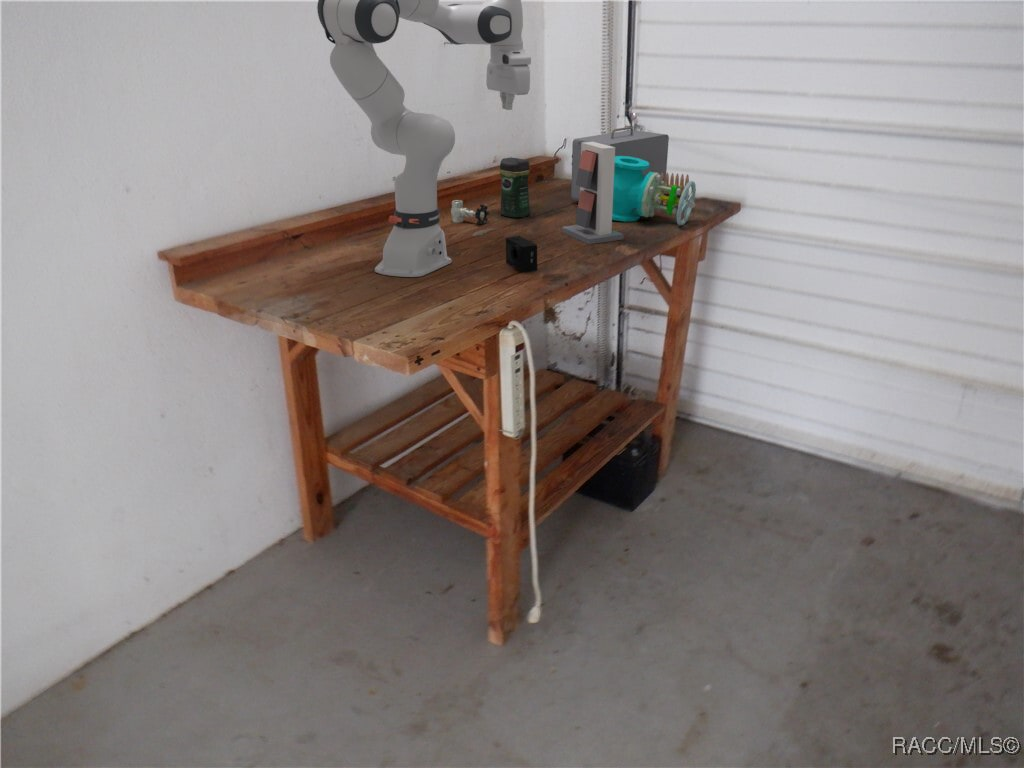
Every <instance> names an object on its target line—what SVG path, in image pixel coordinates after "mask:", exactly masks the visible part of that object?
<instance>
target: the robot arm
mask: <svg viewBox="0 0 1024 768" xmlns="http://www.w3.org/2000/svg"><path fill="white" fill-rule="evenodd" d="M317 1H318V2H317V5H316V9H317V10H316V11H317V16H318V20H319V22H320V24H321V27H322V28H323V29H324V33H325V37H326V39H327V40H328V41H329V42H331V43H332V44H334V46H333V49H332V51H331V53H330V55H329V63H330V66H331V67H330V68H332V71H333V73H334V75H335V76H336V78H337V79H338V81H339V83H340V84H341V85H342V87H343V88H344V90H345V91H346V92H347V94H348V95H349V96H350V97H351V99H353V101H354V102H355V103H356V104H357V106H358V107H359V108H361V110H362V111H363V112H364V113H365V115H366V117H368V119H369V121H370V123H371V126H370V135H371V139H372V142H373V144H374V145H375V146H376V147H377V148H379V149H381V150H383V151H384V152H385V151H386V152H387V153H390V154H392V155H400V156H404V157H405V165H404V168H403V171H402V172H401V173H399V174H398V175H397V176H396V178H395V179H394V196H395V197H394V199H395V209H394V214H393V215H389V217H388V222H389V224H393V227H392V230H391V232H390V233H389V235H388V238H387V240H386V241H385V244H384V245H383V248H382V260H381V261H380V262H379V263H378V264H377V265H376V266H375V268H374V272H375V273H378V274H380V275H384V276H391V277H401V278H402V277H403V278H418V277H422V276H426V275H428V274H430V273H432V272H434V271H436V270H438V269H440V268H443V267H445V266H448V265H449V264H452V262H453V261H452V258H451V257H450V256H448V253H447V244H446V234H445V232H444V230H443V228H442V227H441V225H440V223H439V222H440V220H441V219H440V215H441V214H440V208H439V207H438V195H437V194H438V192H437V191H438V190H437V186H438V175H439V172H440V168H441V166H442V164H443V161H444V160H445V158H446V157H448V156H449V155H450V154H451V152H452V151H453V150H454V146H455V144H456V133H455V129H454V127H453V125H452V124H451V122H450V121H449V120H447V119H444V118H442V117H440V116H437V115H435V114H431V113H424V112H423V113H421V112H415V111H412V110H410V109H408V108H407V107H406V106H405V105H404V101H405V90H404V87H403V86H402V84H400V82H399V81H398V79H397V78H396V77H395V76H394V74H392V72H391V71H390V69H389V68H388V67H387V66H386V65H385V63H384V62H383V61H382V59H381V58H380V57H379V56H378V55H377V52H376V50H375V47H374V45H375V44H382V43H386V42H387V41H389V40H391V39H392V38H393V37H394V36H395V33H396V31H397V29H398V26H399V22H400V19H403V20H405V21H409V22H414V23H419V24H420V23H421V24H424V25H426V26H429V27H431V28H432V29H435V30H436V31H438V33H439V32H440V34H441V35H442V36H443V37H444V38H445V40H447V41H448V42H449V43H451V44H452V45H457V46H458V45H486V46H487V45H490V47H489V48H490V58H489V62H487V66H486V87H487V89H488V90H490V91H495V92H499V98H500V100H501V108H502V109H503V110H507V111H511V110H512V111H513V103H514V100H515V96H525V95H526V96H527V95H528V94H529V91H530V86H531V69H530V66H529V65H531V64H532V56H531V55H530V54H529V53H527V52H526V50H525V49H524V45H523V44H524V43H523V39H522V32H523V27H524V23H523V22H524V16H523V5H522V0H484V1H483V2H480V4H463V3H452V4H451V3H450V4H444V3H442V2H440V0H317ZM373 44H374V45H373Z"/></svg>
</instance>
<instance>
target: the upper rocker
mask: <svg viewBox="0 0 1024 768" xmlns="http://www.w3.org/2000/svg"><path fill="white" fill-rule="evenodd" d="M596 155H597V154H594V153H591V152H587V151H582V154H581V160H580V165H579V170H578V175H577V180H576V185H577V186H580V187H582V188H585V189H590V184H591V179H592V174H593V169H594V165H595V160H596Z"/></svg>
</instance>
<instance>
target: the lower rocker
mask: <svg viewBox="0 0 1024 768" xmlns="http://www.w3.org/2000/svg"><path fill="white" fill-rule="evenodd" d="M594 196H595V194H592V193H589V192H587V191H583V190H581V192H580V197H579V201H578V204H577V209H576V215H575V221H574V225H579V226H581V227H584V228H589V223H590V218H591V212H592V207H593V201H594Z"/></svg>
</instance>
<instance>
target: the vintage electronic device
mask: <svg viewBox="0 0 1024 768" xmlns="http://www.w3.org/2000/svg"><path fill="white" fill-rule="evenodd" d="M669 139H670V138H669V135H668V134H667V133H666V134H665V133H657V132H656V133H655V132H649V131H643V130H636V129H635V130H634V128H633V126H626V127H618V128H613V129H612V130H611V132H609V133H603V134H602V133H601V134H597V135H596V134H595V135H592V136H585V137H578V138H574V139H573V141H572V146H571V147H572V148H571V152H572V153H571V193H570V194H571V195H570V196H571V200H573V201H577V202H579V197H580V186H577V185H576V180H577V175H578V170H579V165H580V160H581V143H583V142H596V143H600V144H604V145H608V146H612V147H615V156H628V157H634V158H639V159H642V160H645V161H647V162H648V163H649V168H647V169H646V170H642V172H643V175H644V176H646V175H647V174H648V173H649V172H654V173H659V174H660V175H661V173H662V172H663V175H664V184H665V177H666V174H667V170H668V169H667V168H668V167H667V165H668V154H669V143H670V142H669ZM614 167H615V166H614Z"/></svg>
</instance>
